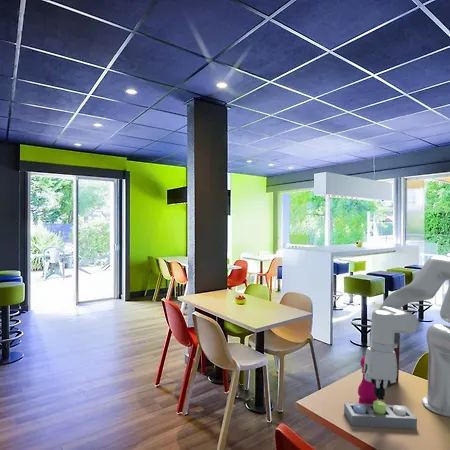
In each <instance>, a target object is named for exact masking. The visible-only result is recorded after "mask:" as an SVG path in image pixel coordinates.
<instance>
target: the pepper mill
mask: <svg viewBox="0 0 450 450" xmlns="http://www.w3.org/2000/svg"><path fill="white" fill-rule="evenodd" d="M364 362H365V356H363V357H362V358H361V359H360V366H361V373H362V380H361V382H360V384H359V385H358V388H357V394H358V396H359V397H358V404H373V402H374V401H376V400H377V401H378V398H377V397H376V396H375V394H374V386H375V385H374V384H373V383H372V382H369V381H366V380H365V379H364V377H365V374H366V373H364Z"/></svg>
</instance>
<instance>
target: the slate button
mask: <svg viewBox="0 0 450 450" xmlns="http://www.w3.org/2000/svg"><path fill="white" fill-rule="evenodd" d="M353 411H354V413H355V414H366V407H365V406H364V405H362V404H359V403H357V404H354V407H353Z"/></svg>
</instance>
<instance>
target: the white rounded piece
mask: <svg viewBox="0 0 450 450" xmlns="http://www.w3.org/2000/svg"><path fill="white" fill-rule="evenodd" d="M394 405H395V406H393V413H394V414H395V415H400V416H406V409H405V408H404V407H402V406H398V404H394Z"/></svg>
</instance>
